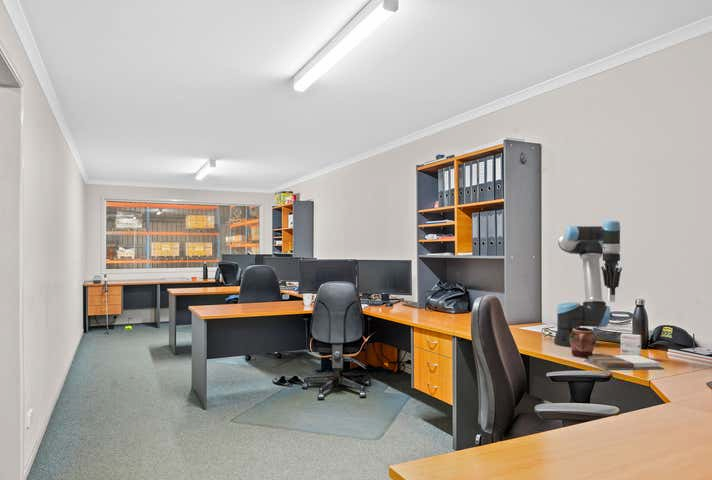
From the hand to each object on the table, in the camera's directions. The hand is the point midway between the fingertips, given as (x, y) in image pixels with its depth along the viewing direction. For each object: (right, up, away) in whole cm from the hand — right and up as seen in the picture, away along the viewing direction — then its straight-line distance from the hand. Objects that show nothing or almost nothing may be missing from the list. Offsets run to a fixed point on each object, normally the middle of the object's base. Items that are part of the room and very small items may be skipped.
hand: (611, 301), depth 231 cm
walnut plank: (-6, -28, -10) cm, 31 cm away
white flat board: (+6, -27, -10) cm, 30 cm away
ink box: (+12, -29, +4) cm, 31 cm away
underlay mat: (0, -28, -10) cm, 30 cm away
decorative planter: (-11, -29, +7) cm, 31 cm away
